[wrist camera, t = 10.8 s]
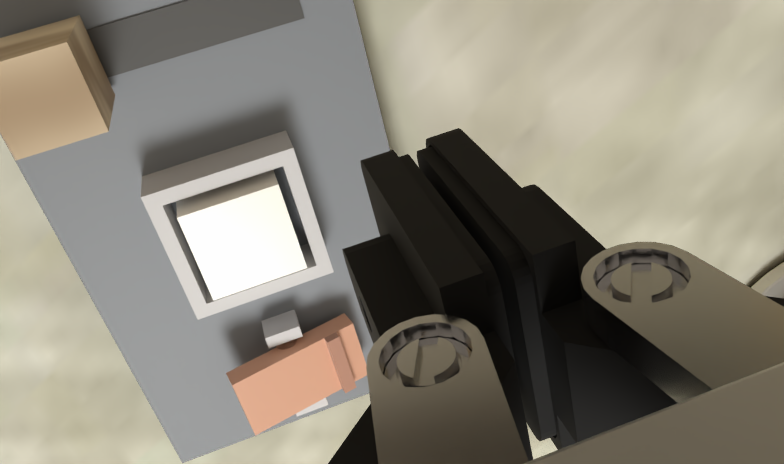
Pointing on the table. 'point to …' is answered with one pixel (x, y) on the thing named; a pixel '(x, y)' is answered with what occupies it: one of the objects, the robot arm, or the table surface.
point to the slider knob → (52, 88)
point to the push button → (241, 234)
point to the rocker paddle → (299, 373)
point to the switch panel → (212, 186)
